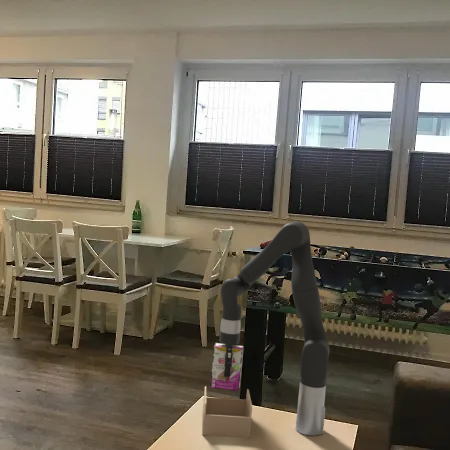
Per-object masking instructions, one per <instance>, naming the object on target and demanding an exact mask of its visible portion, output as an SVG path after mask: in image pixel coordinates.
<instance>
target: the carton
mask: <svg viewBox="0 0 450 450" xmlns="http://www.w3.org/2000/svg"><path fill="white" fill-rule="evenodd" d="M245 397H246V398H244V399H241V398H226V397H212V396H207V385H205V386H204V393H203V400H202V401H203V403H202V416H201V417H202V419H201V421H202V422H201V424H202V427H201V429H202V430H201V431H202V432H201V434H202V435H203V436H214V437H229V438H230V437H231V438H244V439H247V438H248V439H250V437H251V427H252V414H253V402H252V400H251V394H250V390H249V388H247V389H246V396H245Z"/></svg>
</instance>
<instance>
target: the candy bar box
mask: <svg viewBox="0 0 450 450" xmlns="http://www.w3.org/2000/svg"><path fill="white" fill-rule="evenodd" d="M212 353H213V354H212V362H211V363H212V364H211V365H212V366H211V373H210V374H211V376H210V385H209V387H210V389H216V390H217V389H218V390H226V391H234V392H235V391H236V392H239V391H240V387H241V379H242V377H241V376H242V368H243V356H244V346H243V345H238V344H237V345H233V346H232V353H233V361H232V367H231V370H230V377H224V369H225V366H224V365H225V361H224V353H226V344H222V343H221V342H219V343H218V342H215V344H214V345H213V352H212ZM225 358H226V354H225ZM227 364H230V362H227Z"/></svg>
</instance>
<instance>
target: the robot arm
mask: <svg viewBox="0 0 450 450" xmlns="http://www.w3.org/2000/svg"><path fill="white" fill-rule="evenodd" d="M311 245H312V244H311V235H310V230H309V228H308V227H307V225H306V224H305V223H303V222H301V221H292V222H288V223H286V224H284V225H283V226H282V227H281V228H280V229H279V230H278V232H277V233H276V235H275V236H274V237H273V238H272V239H271V241H270V242H269V243H268V244H267V245H266V246H265V247H264V248H263V249H262V250H261V251H260V252H259V253H257V254H256V255H255V256H254V257H253V258H251V259H250V260H249V261H248V262H247V263H246V264H245V265H244V266H242V268H241V269H240V270H239V273H238V274H237V275H236V276H235V277H233V278H232V277H231V278H228V279H226V280H224V281H223V282H222V284H221V289H220V297H221V304H222V311H221V312H222V315H221V321H220V327H219V328H220V331H219V343H221V344H226V353H224V361H225V365H224V366H225V369H224V377H230V370H231V367H232V361H233V353H232V346H233V345H237V346H238V344H239V343H240V338H241V337H240V336H241V327H242V325H241V324H242V323H241V319H242V318H241V317H242V306H241V304H240V303H238V297H240V296H242V295H244V294H245V293H246V292H247V291H248V290H249V289H250V288H251V287H252V285H253V284H254V283H255V282H257V281H258V280H259V279H260V278H261V277H262V276H264V274H266V273H267V272H268V270H269V269H271V267H272V266H273V265H274V264H275V262H277V260H279V259H280V258H281V257H283V256H284V255H285V254H287V253H289V252H290V254H291V258H292V260H291V261H292V268H291V269H292V271H291V283H290V284H291V285H290V286H291V292H292V298H293V301H294V302H293V304H294V307H295V309H296V312H297V314H298V316H299V317H298V318H299V320H300V321H301V325H302V331H303V339H304V343H303V344H304V345H303V347H302V350H301V351H302V352H301V360H300V368H299V372H300V373H299V374H300V377H299V390H298V400H297V410H296V411H297V412H296V420H295V430H296V431H297V432H298V433H300V434H303V435H305V436H319V435H323V434H324V426H325V416H326V407H325V399H326V388H327V381H328V379H327V377H328V367H329V366H328V365H329V358H330V357H329V356H330V351H331V350H330V349H331V348H330V345H329V342H328V338H327V335H326V332H325V328H324V323H323V318H322V317H323V316H322V314H323V313H322V305H321V298H320V291H319V287H318V282H317V277H316V271H315V266H314V262H313V258H312V249H311V247H312V246H311ZM225 354H226V358H225ZM227 362H230V364H227Z"/></svg>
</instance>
